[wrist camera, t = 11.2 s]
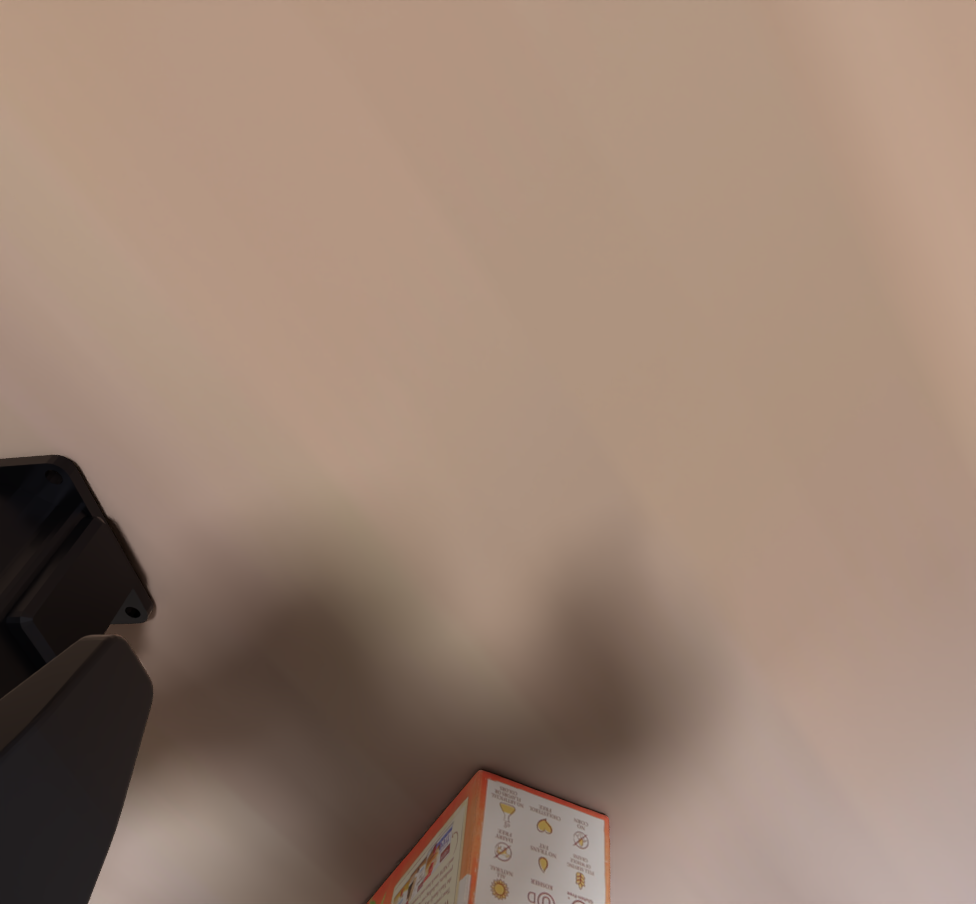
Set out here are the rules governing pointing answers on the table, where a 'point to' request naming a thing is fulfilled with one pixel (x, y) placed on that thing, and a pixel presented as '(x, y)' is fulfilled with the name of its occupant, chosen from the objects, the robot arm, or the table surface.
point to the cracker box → (505, 851)
